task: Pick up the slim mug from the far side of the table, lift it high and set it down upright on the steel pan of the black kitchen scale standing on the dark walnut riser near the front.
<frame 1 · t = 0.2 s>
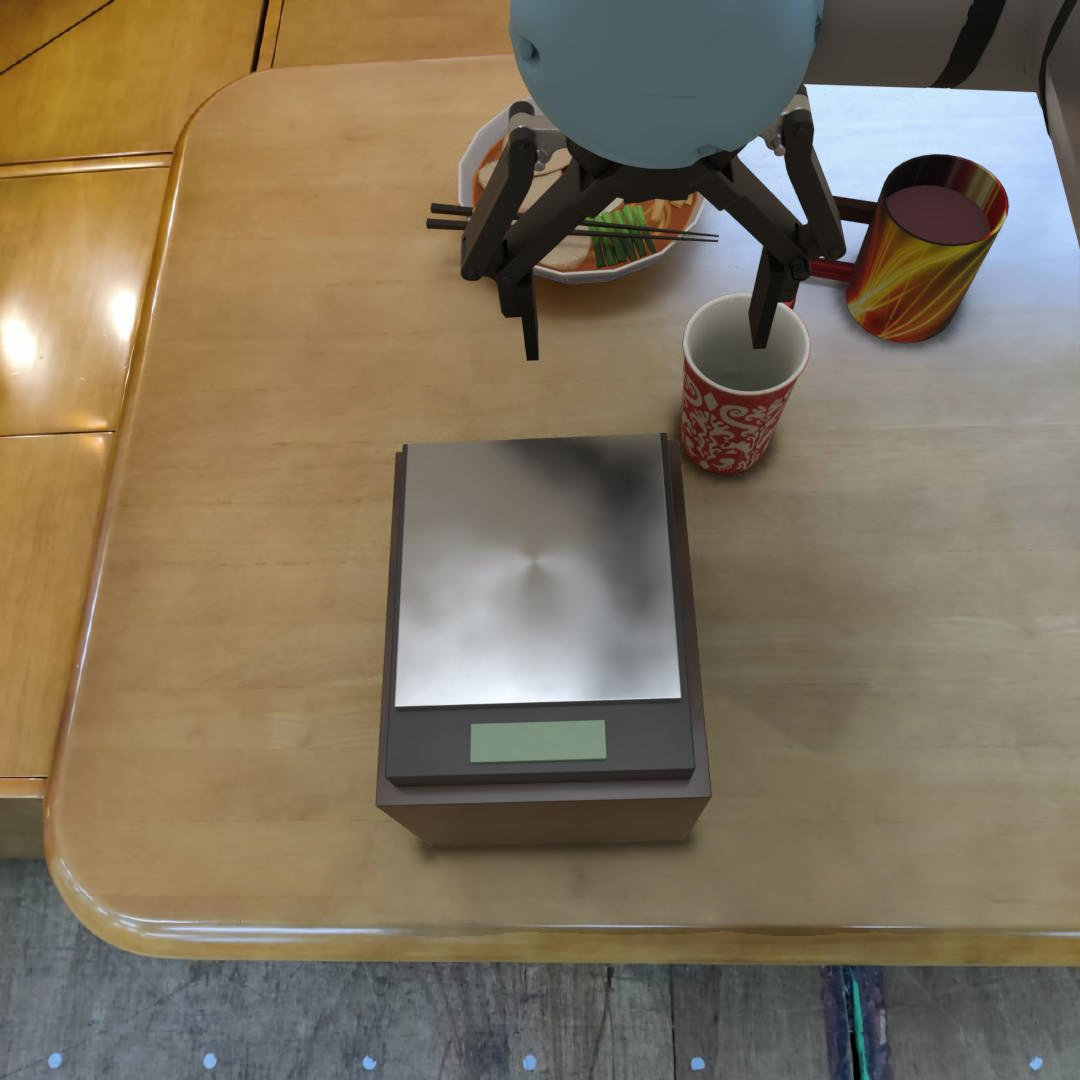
hand: (643, 337, 57), 22 cm above the table, tool pointing down, fingers open, 13 cm apart
mug: (876, 304, 84), on the table
riser: (553, 692, 70), on the table
kitchen scale: (538, 608, 54), resting on riser
ramen bowl: (584, 235, 89), on the table
mug 2: (734, 424, 80), on the table
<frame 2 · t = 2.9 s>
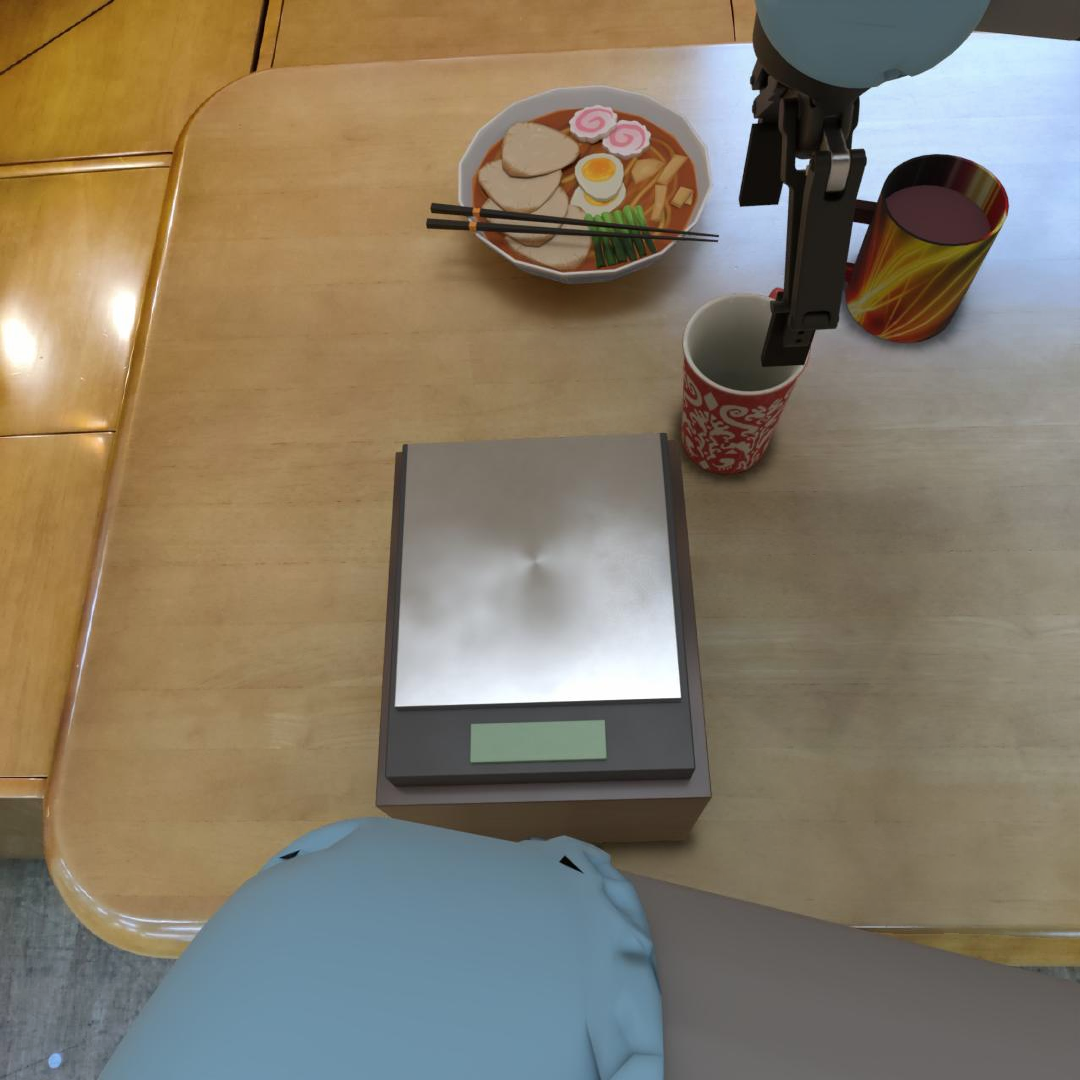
hand: (769, 278, 63), 18 cm above the table, tool pointing down, fingers open, 13 cm apart
nothing on the table moved.
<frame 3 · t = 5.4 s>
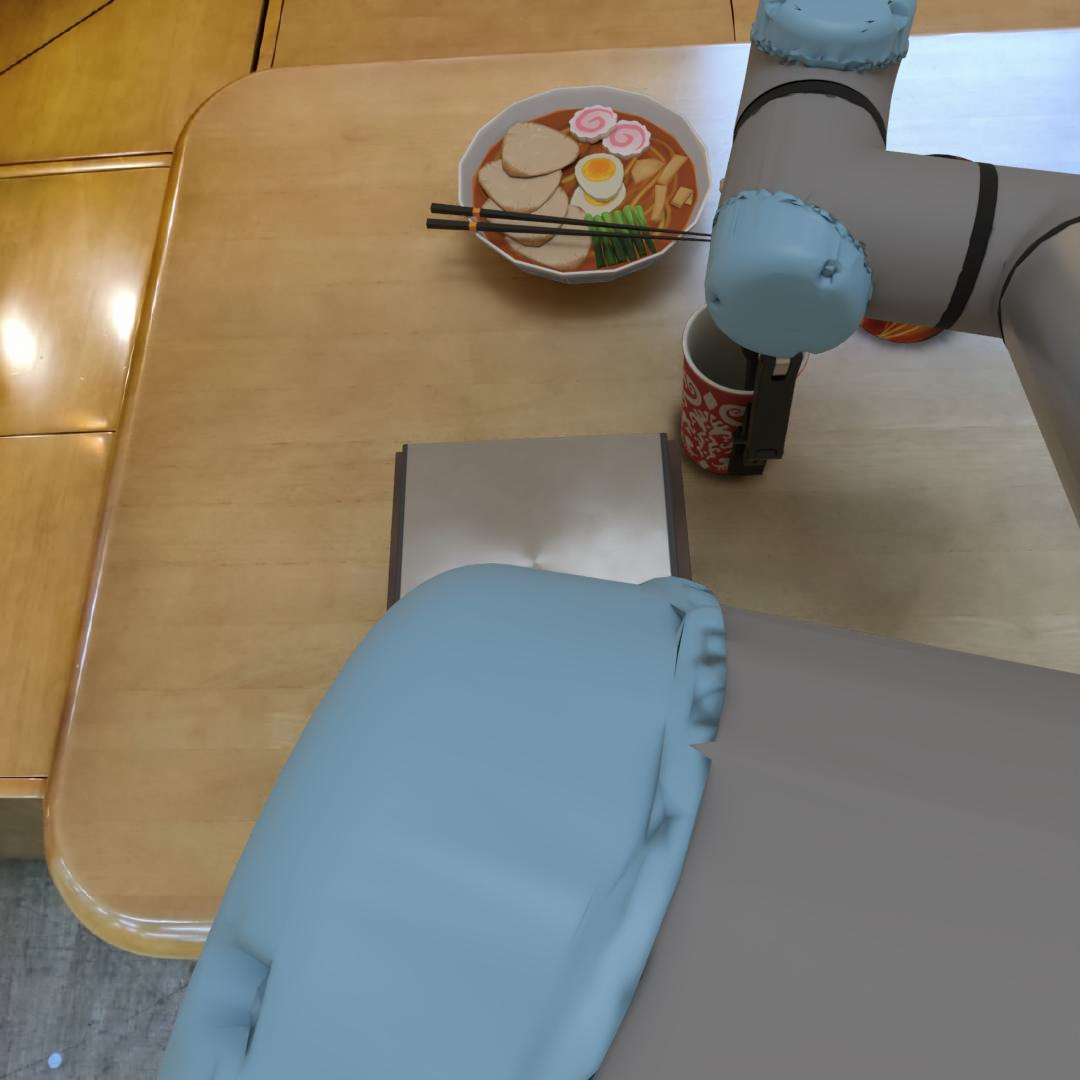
hand: (737, 413, 78), 2 cm above the table, tool pointing down, fingers closed on mug 2, 10 cm apart
mug 2: (733, 424, 80), on the table, touching gripper
everything else where it was.
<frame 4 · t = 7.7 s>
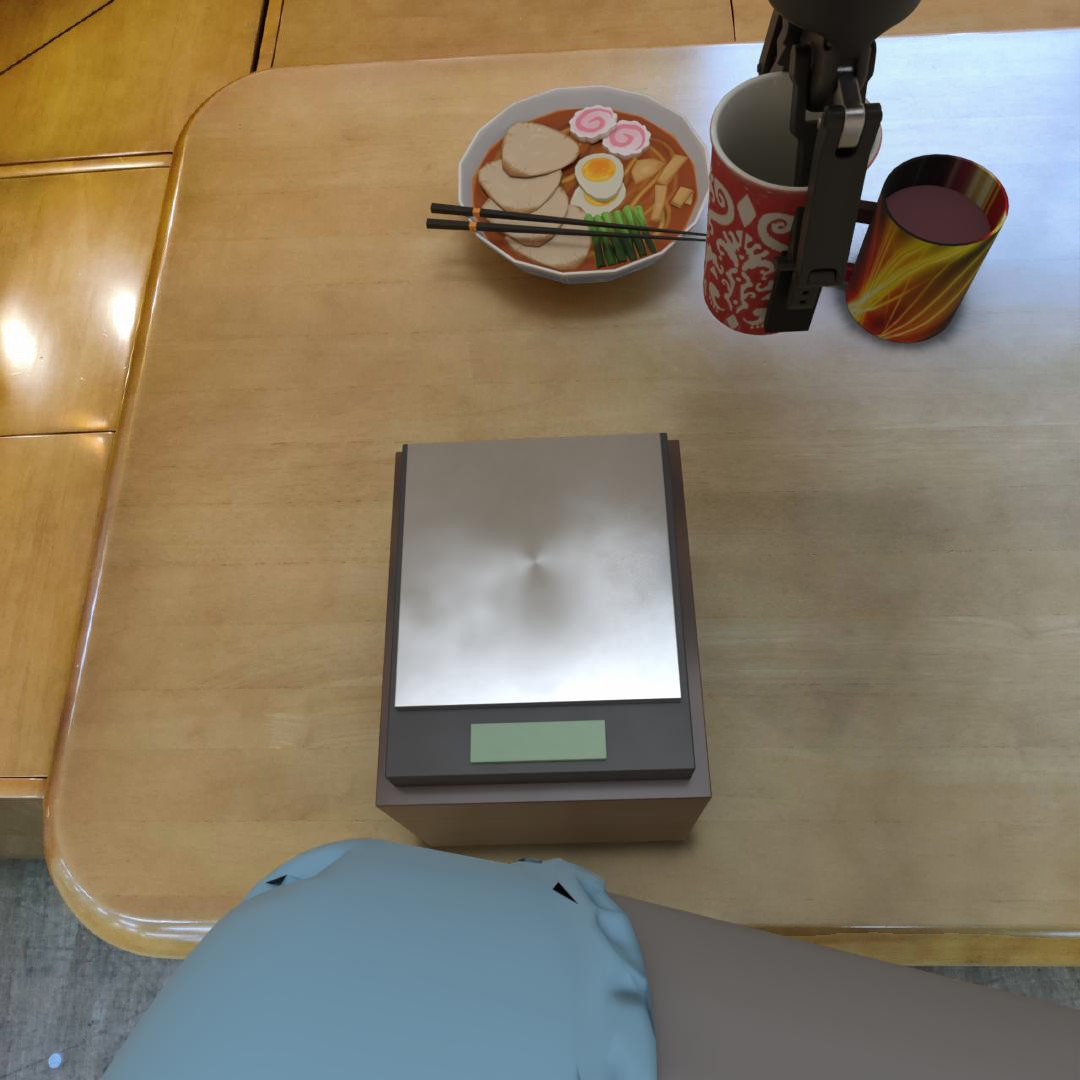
hand: (774, 259, 61), 21 cm above the table, tool pointing down, fingers closed on mug 2, 10 cm apart
mug 2: (770, 278, 63), point 18 cm above the table, touching gripper
everything else where it was.
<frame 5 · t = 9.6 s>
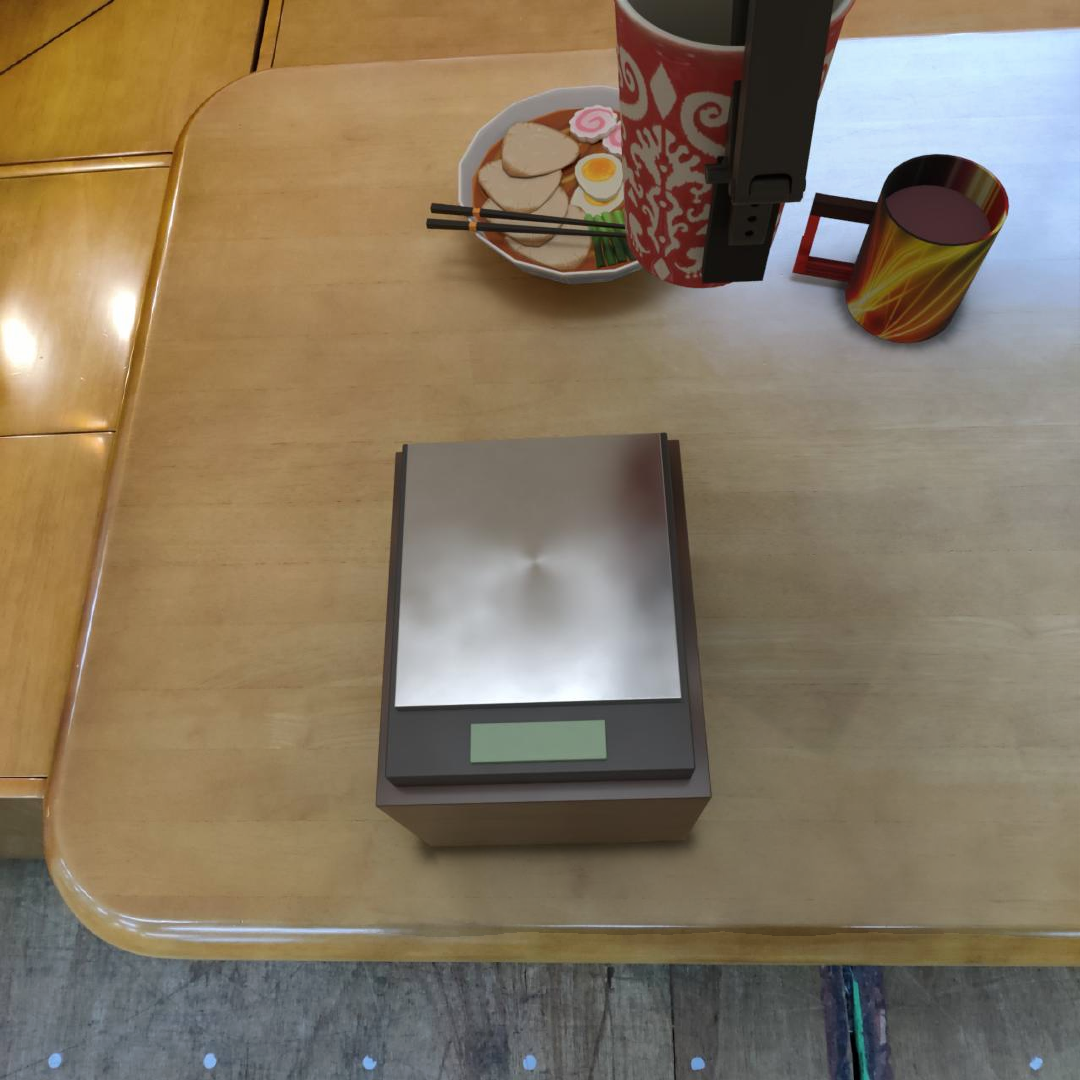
hand: (720, 186, 44), 35 cm above the table, tool pointing down, fingers closed on mug 2, 10 cm apart
mug 2: (717, 214, 46), point 33 cm above the table, touching gripper
everything else where it was.
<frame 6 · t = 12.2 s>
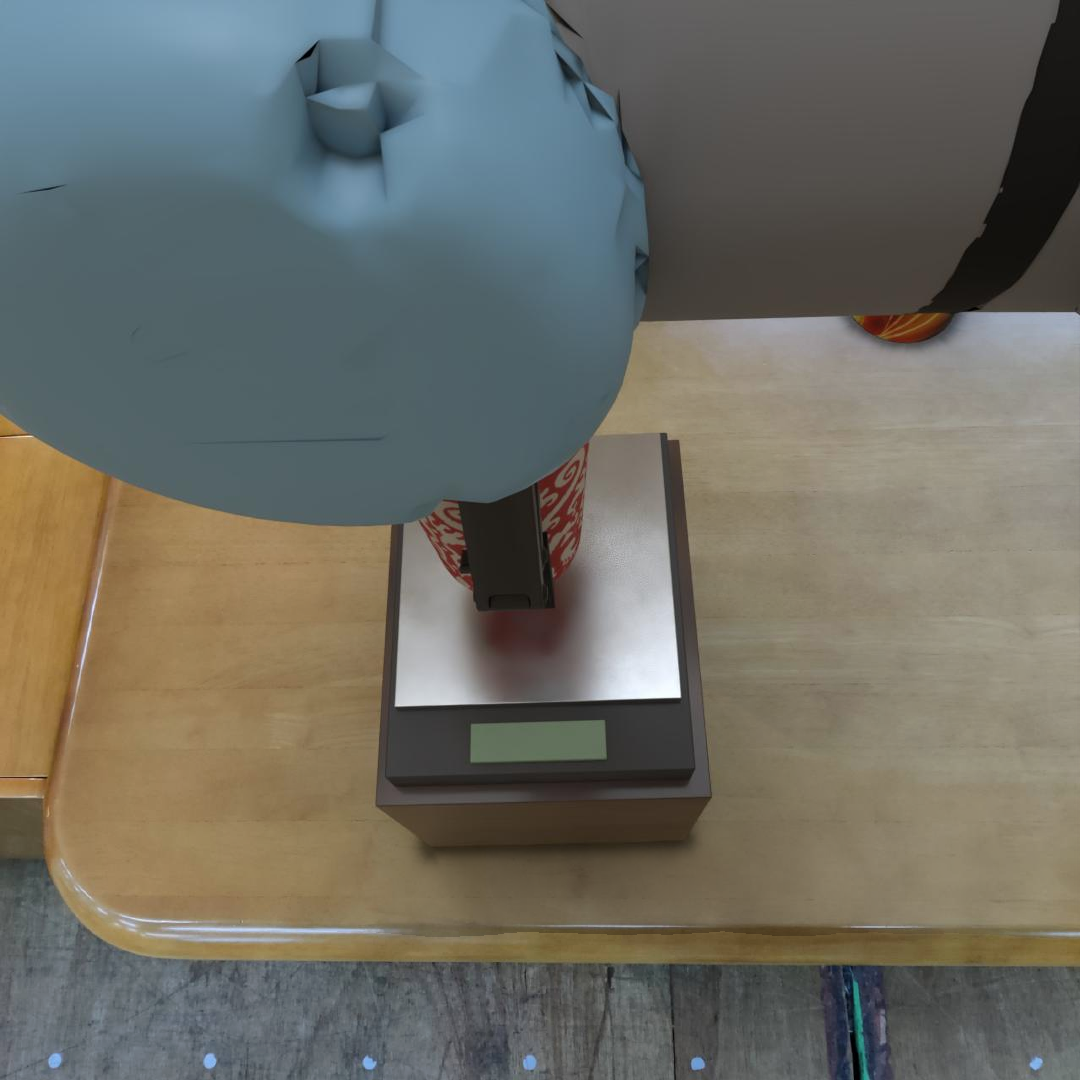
hand: (524, 494, 45), 29 cm above the table, tool pointing down, fingers closed on mug 2, 10 cm apart
mug 2: (529, 508, 47), point 27 cm above the table, touching gripper
everything else where it was.
when the fingers open (23 cm above the table, at t = 14.2 s): mug 2 stays where it is, resting on kitchen scale.
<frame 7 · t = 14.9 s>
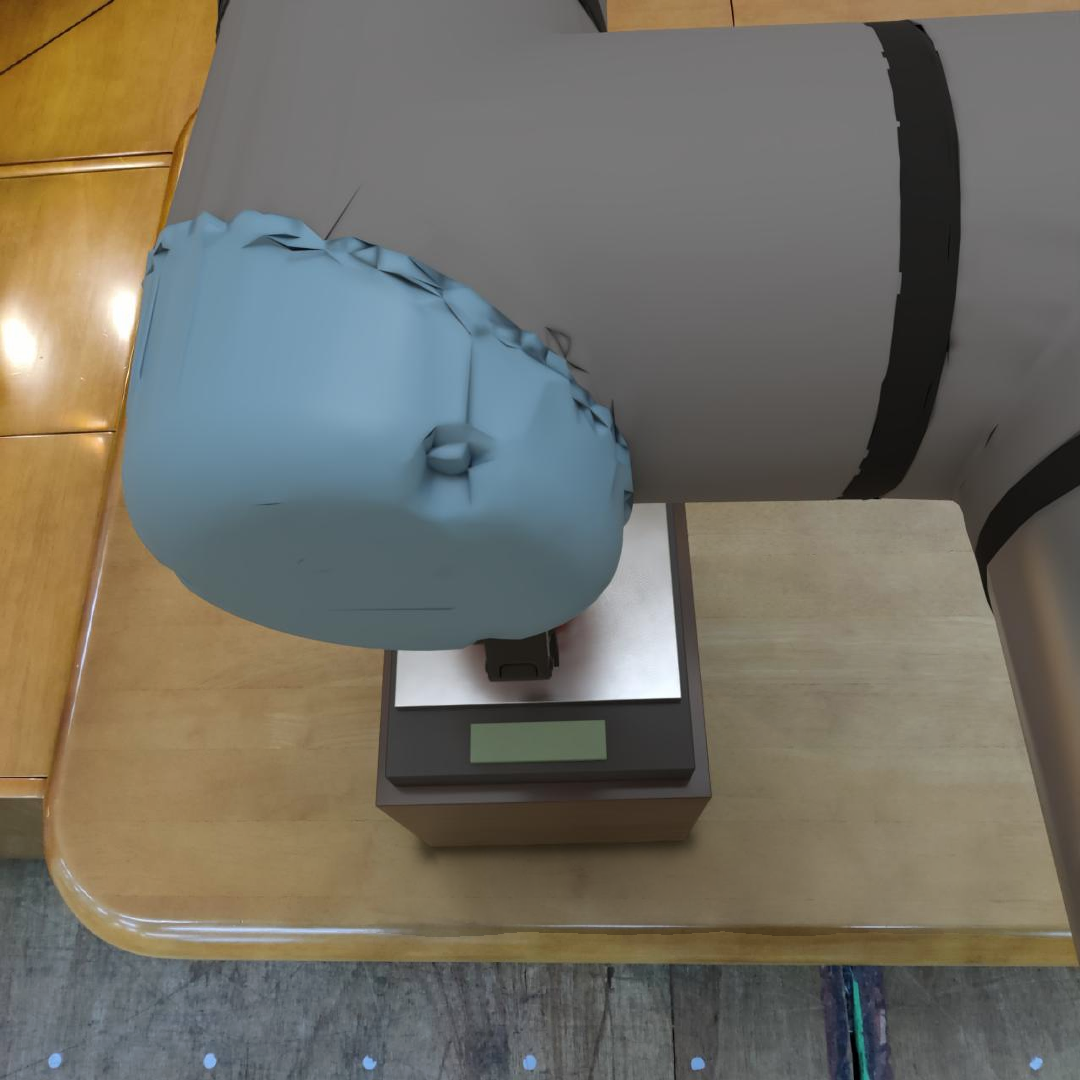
hand: (530, 534, 48), 25 cm above the table, tool pointing down, fingers open, 13 cm apart
mug 2: (537, 557, 52), point 21 cm above the table, touching kitchen scale
everything else where it was.
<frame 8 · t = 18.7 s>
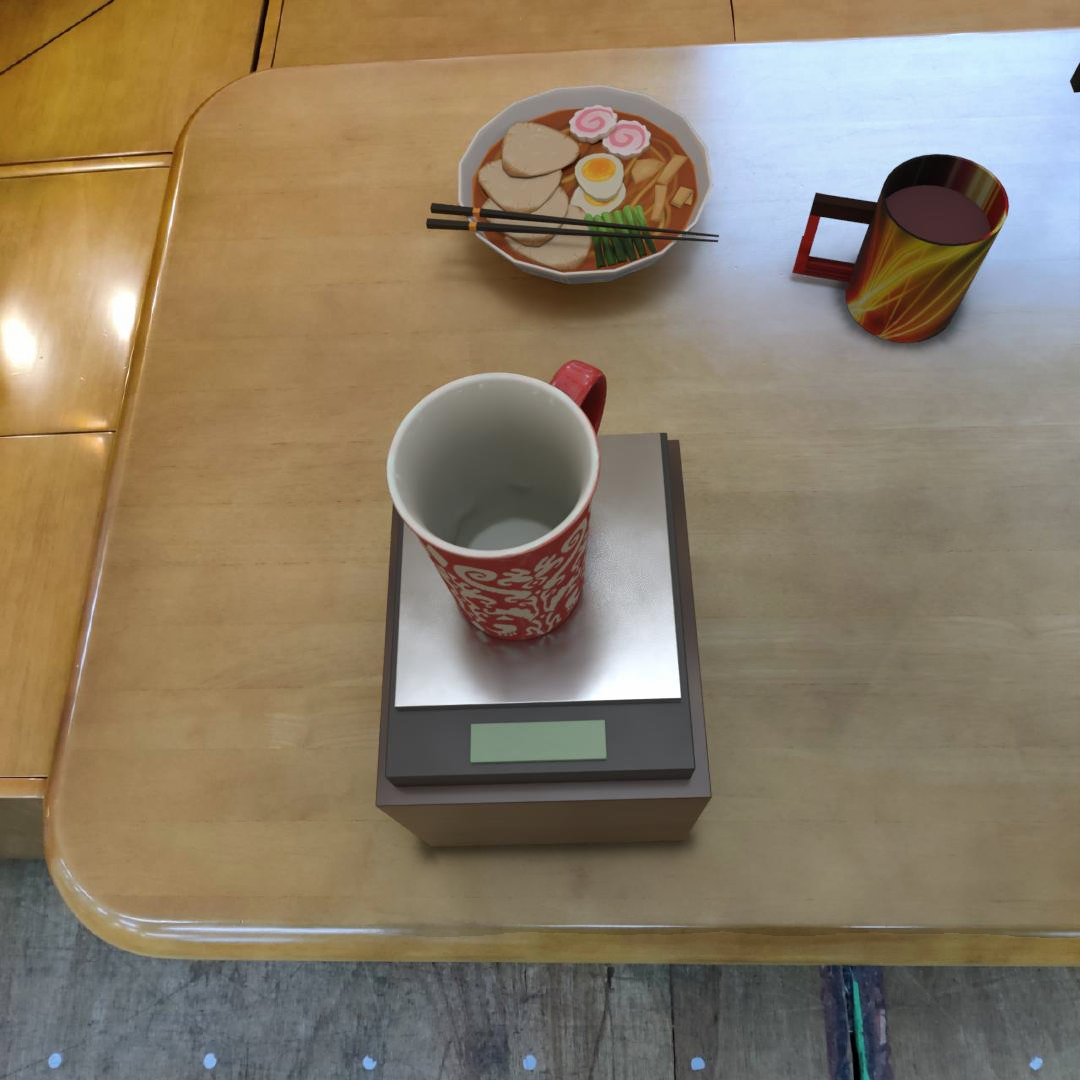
nothing on the table moved.
at the end: mug 2 inside the target area on the kitchen scale (0.3 cm from its centre), point 3.2 cm above the kitchen scale's base; mug 2 tilted 0°; the gripper is holding nothing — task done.
